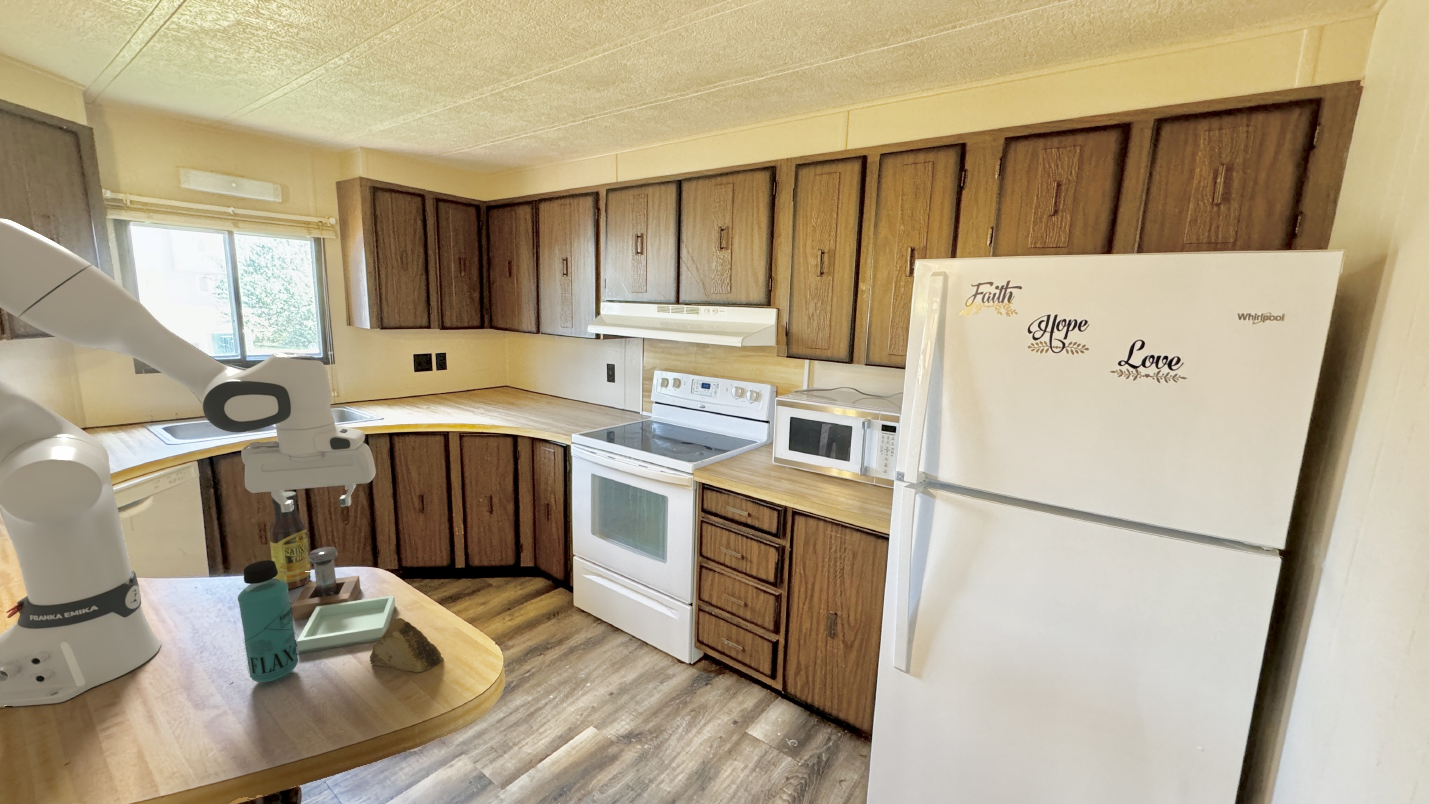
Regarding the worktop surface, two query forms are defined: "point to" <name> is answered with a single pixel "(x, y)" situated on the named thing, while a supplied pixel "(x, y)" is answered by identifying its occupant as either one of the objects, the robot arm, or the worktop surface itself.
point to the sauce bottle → (289, 545)
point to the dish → (346, 624)
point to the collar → (310, 599)
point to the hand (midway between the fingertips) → (317, 507)
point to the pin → (324, 570)
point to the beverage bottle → (267, 623)
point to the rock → (405, 649)
